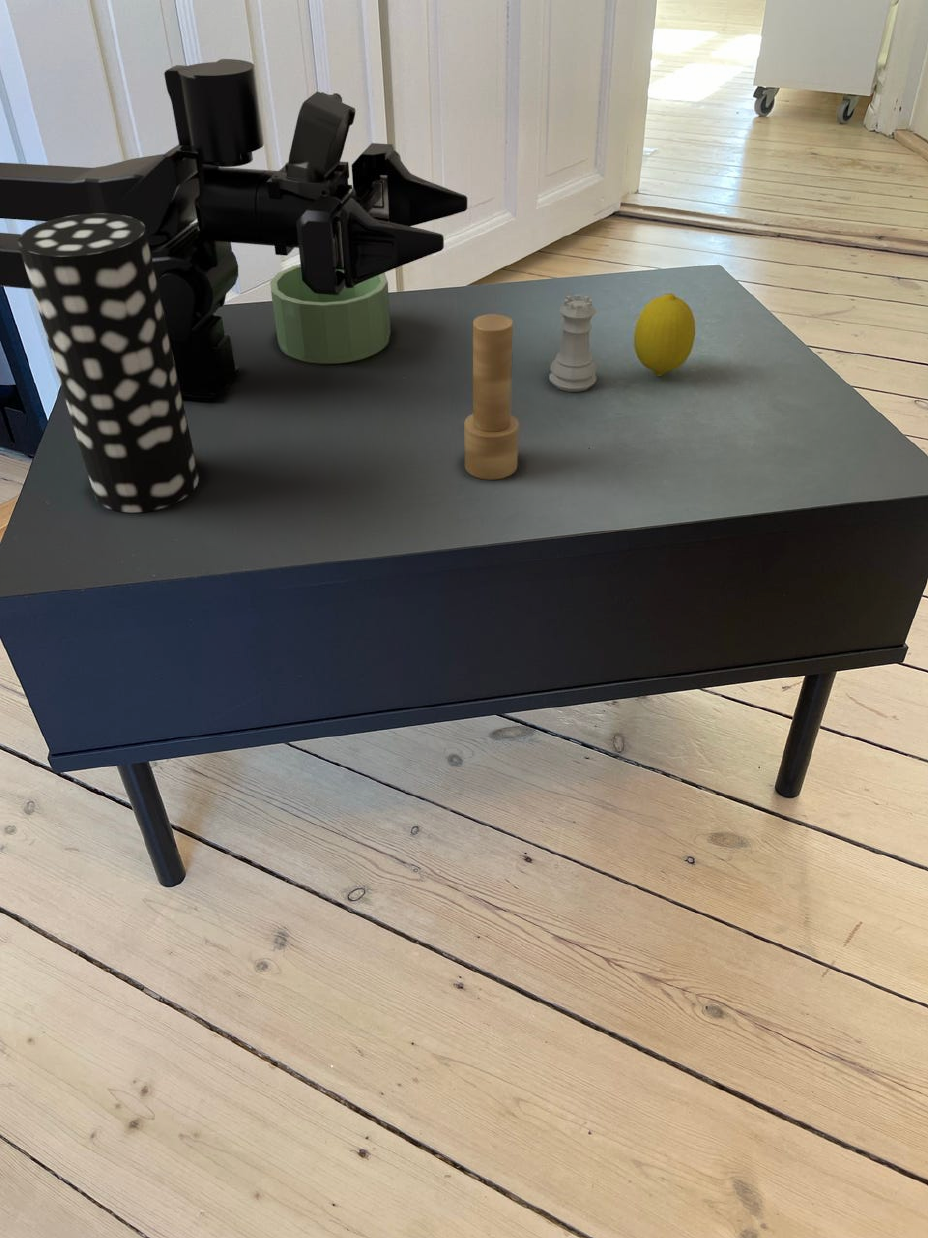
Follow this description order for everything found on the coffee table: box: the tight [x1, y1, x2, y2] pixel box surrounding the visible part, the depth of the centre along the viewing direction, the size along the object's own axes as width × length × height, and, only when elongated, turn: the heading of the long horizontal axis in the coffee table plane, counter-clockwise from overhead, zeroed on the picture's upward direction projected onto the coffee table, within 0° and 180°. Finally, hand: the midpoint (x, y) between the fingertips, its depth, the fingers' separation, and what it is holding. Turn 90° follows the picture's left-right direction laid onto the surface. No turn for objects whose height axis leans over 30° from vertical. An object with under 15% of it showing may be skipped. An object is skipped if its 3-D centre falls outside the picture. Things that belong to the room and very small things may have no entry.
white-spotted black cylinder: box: [18, 213, 200, 514], centre depth 72 cm, size 8×8×20 cm
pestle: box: [463, 313, 520, 481], centre depth 77 cm, size 4×4×12 cm
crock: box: [269, 263, 392, 365], centre depth 97 cm, size 11×11×6 cm
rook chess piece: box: [548, 294, 597, 393], centre depth 89 cm, size 4×4×8 cm
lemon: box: [633, 292, 696, 377], centre depth 90 cm, size 6×6×8 cm
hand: (455, 221), depth 77 cm, fingers open, 9 cm apart
